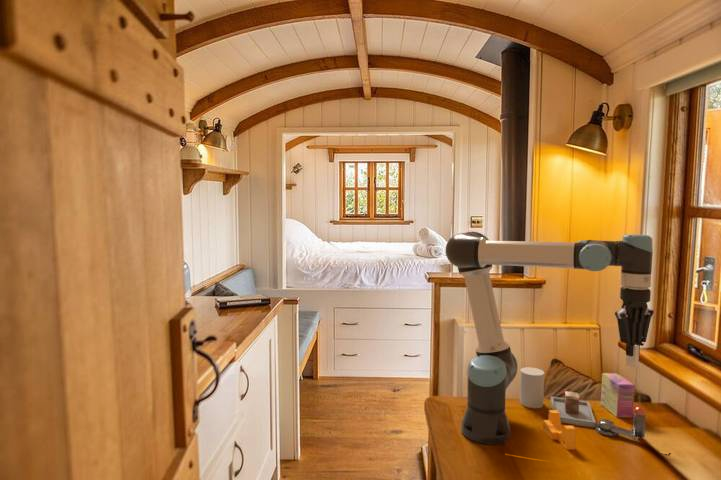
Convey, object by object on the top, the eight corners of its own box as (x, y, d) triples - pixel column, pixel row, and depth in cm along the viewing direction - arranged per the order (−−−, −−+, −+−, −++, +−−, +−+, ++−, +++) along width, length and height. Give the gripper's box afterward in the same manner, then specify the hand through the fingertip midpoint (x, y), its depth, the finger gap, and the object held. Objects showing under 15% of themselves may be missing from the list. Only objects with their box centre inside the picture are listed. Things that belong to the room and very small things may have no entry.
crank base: (591, 430, 139) (591, 427, 139) (600, 425, 143) (601, 422, 143) (664, 459, 123) (664, 456, 123) (672, 453, 127) (672, 449, 127)
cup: (545, 401, 161) (546, 370, 160) (541, 410, 154) (542, 377, 153) (522, 396, 165) (523, 365, 164) (517, 404, 158) (518, 372, 158)
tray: (553, 421, 146) (553, 416, 146) (550, 401, 161) (550, 396, 161) (595, 427, 141) (595, 422, 141) (588, 406, 157) (588, 401, 157)
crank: (596, 428, 139) (597, 397, 138) (601, 423, 142) (602, 393, 141) (642, 443, 129) (643, 411, 129) (646, 438, 132) (647, 406, 132)
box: (633, 418, 148) (635, 384, 147) (616, 418, 148) (618, 384, 148) (616, 404, 159) (617, 372, 158) (600, 404, 159) (601, 372, 158)
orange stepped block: (542, 429, 141) (543, 410, 140) (556, 429, 141) (556, 410, 140) (560, 449, 129) (561, 428, 128) (574, 449, 129) (575, 428, 128)
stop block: (565, 412, 150) (566, 395, 150) (564, 407, 154) (565, 391, 154) (578, 414, 149) (579, 397, 148) (577, 409, 152) (578, 392, 152)
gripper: (630, 290, 122) (627, 373, 123) (664, 288, 126) (660, 367, 128) (607, 286, 129) (604, 364, 130) (639, 284, 133) (636, 359, 135)
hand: (632, 366), depth 129 cm, fingers closed
